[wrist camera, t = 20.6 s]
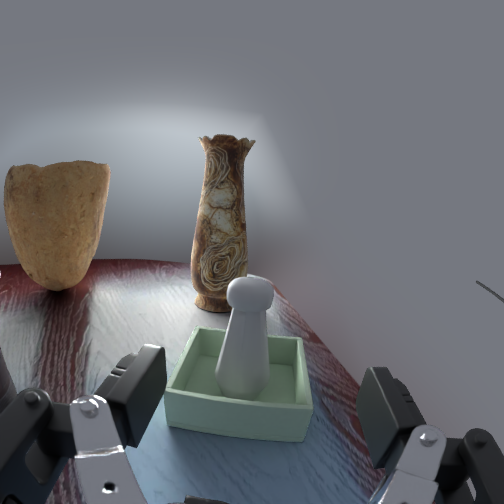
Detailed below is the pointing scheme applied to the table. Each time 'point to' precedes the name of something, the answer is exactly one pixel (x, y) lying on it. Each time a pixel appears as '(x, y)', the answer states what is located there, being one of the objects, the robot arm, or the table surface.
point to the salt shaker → (245, 340)
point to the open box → (234, 410)
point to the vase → (220, 223)
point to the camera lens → (5, 385)
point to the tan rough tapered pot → (56, 218)
